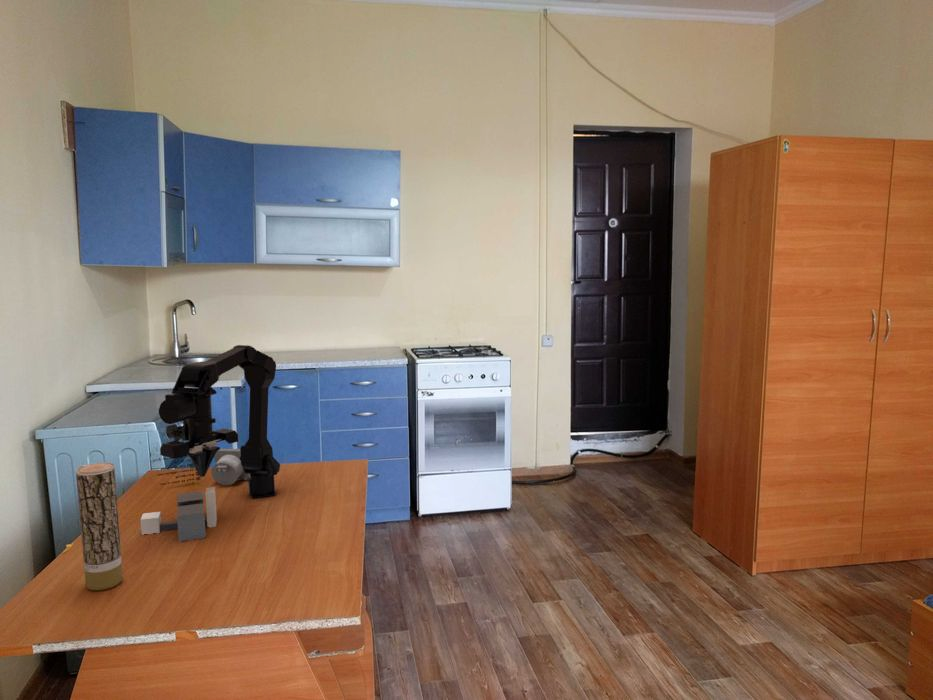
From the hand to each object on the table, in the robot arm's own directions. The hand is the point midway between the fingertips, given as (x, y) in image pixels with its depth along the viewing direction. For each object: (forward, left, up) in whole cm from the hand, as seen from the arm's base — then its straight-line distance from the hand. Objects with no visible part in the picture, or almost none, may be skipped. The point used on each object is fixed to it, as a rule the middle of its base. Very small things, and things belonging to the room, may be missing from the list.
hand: (202, 476), depth 165 cm
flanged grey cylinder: (-1, -33, -13) cm, 36 cm away
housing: (+3, 0, -13) cm, 13 cm away
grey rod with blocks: (+6, -2, -13) cm, 14 cm away
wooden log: (+20, +24, -13) cm, 34 cm away
